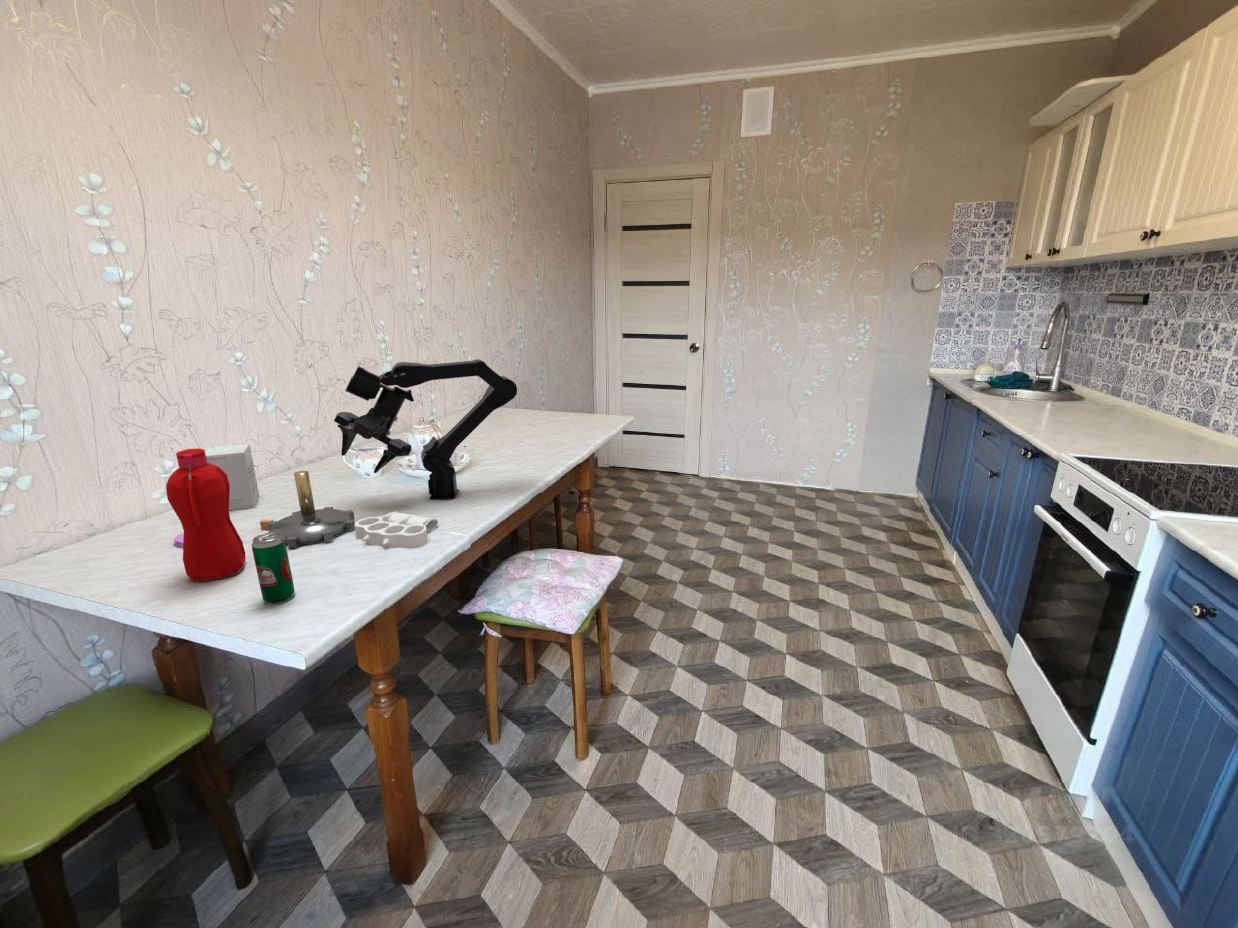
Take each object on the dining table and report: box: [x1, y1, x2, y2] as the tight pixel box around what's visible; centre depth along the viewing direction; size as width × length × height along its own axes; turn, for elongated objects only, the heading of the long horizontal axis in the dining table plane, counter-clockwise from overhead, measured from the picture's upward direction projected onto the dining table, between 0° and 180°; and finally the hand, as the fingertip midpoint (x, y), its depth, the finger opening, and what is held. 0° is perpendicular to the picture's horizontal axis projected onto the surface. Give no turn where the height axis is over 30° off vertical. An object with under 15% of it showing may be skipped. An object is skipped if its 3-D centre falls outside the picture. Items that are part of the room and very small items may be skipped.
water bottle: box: [165, 448, 246, 582], centre depth 108 cm, size 9×11×25 cm
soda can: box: [251, 531, 296, 604], centre depth 101 cm, size 5×5×12 cm
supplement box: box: [205, 443, 260, 511], centre depth 145 cm, size 9×9×15 cm
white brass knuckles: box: [354, 511, 439, 549], centre depth 129 cm, size 3×18×15 cm
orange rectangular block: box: [259, 519, 274, 531], centre depth 132 cm, size 2×1×2 cm, turn 83°
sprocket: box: [267, 470, 356, 549], centre depth 129 cm, size 19×19×12 cm
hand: (358, 464), depth 143 cm, fingers open, 9 cm apart
